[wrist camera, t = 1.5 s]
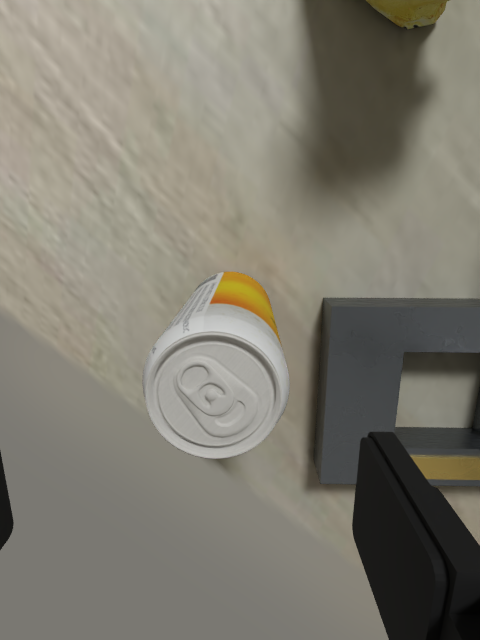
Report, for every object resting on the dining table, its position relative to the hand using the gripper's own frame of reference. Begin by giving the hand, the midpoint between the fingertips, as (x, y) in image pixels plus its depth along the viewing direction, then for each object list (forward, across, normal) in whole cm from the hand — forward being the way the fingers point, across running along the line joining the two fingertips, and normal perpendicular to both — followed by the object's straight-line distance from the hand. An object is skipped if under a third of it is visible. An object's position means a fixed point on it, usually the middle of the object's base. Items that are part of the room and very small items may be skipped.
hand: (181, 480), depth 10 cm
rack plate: (+20, -17, +6) cm, 27 cm away
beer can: (+20, -1, 0) cm, 20 cm away
